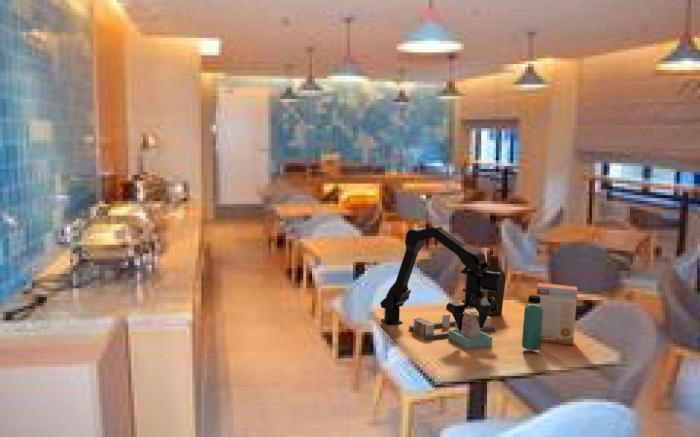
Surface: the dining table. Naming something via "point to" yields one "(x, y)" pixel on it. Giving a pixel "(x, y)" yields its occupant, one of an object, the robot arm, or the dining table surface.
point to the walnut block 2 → (477, 316)
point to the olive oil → (496, 295)
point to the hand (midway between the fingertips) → (470, 329)
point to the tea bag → (470, 326)
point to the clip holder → (448, 323)
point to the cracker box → (557, 312)
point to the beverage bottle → (532, 324)
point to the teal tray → (470, 344)
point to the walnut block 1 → (421, 326)
